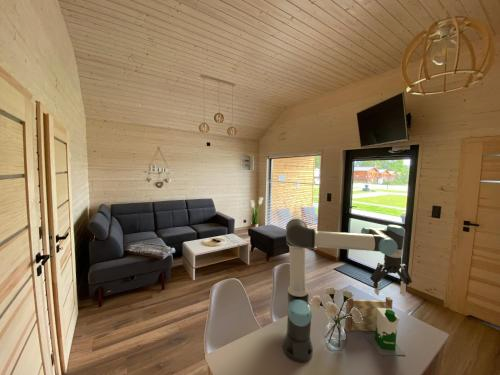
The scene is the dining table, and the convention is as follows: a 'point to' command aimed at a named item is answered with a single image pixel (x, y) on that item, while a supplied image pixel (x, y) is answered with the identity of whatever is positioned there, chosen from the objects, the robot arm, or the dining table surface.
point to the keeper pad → (384, 351)
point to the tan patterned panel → (349, 306)
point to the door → (367, 314)
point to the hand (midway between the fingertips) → (389, 294)
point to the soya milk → (386, 328)
